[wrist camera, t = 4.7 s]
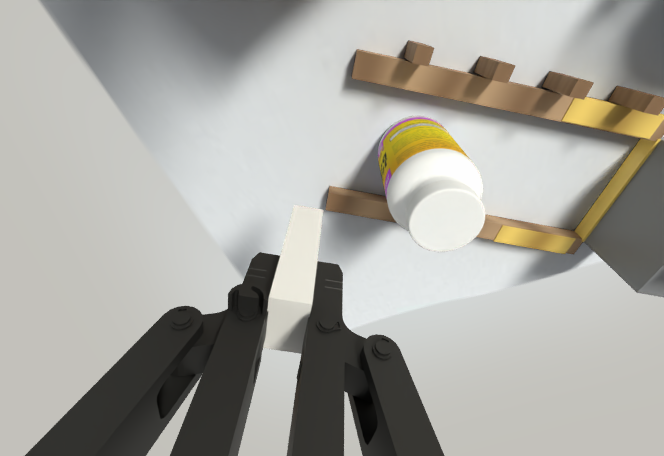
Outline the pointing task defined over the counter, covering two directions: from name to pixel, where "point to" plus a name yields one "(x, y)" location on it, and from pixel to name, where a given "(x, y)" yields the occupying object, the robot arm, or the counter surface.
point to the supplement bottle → (430, 184)
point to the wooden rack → (497, 92)
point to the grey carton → (632, 220)
